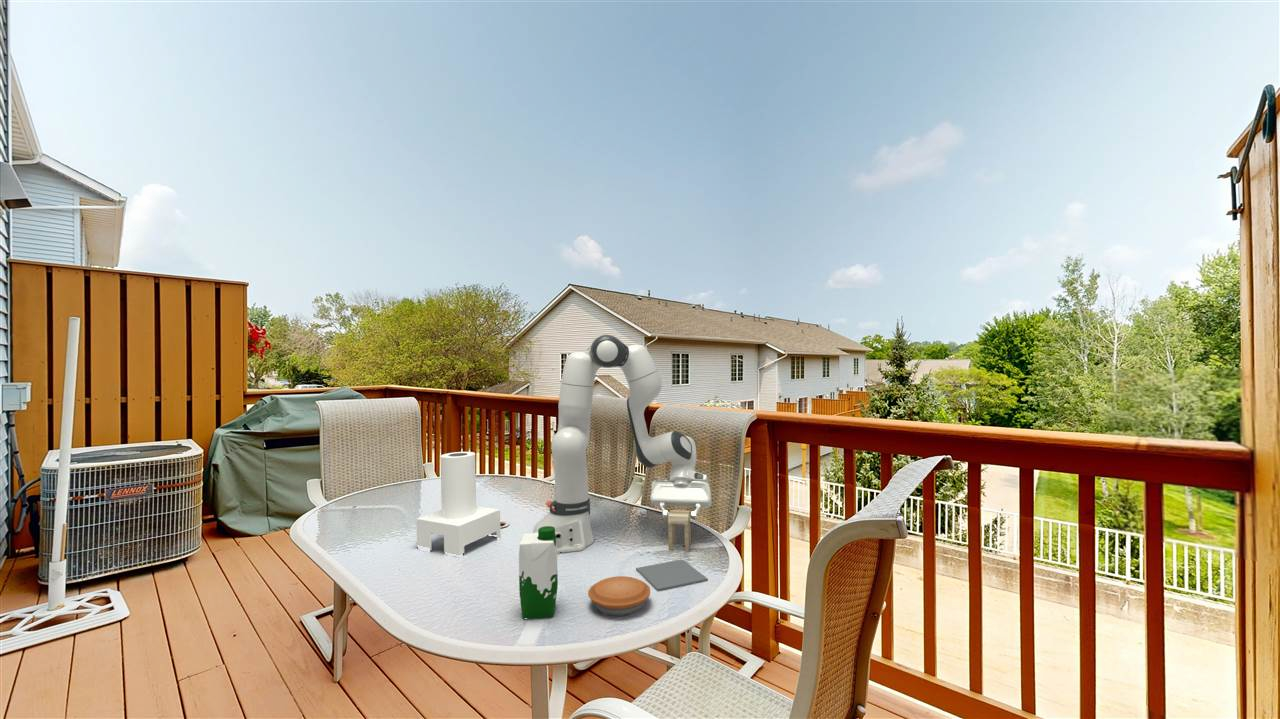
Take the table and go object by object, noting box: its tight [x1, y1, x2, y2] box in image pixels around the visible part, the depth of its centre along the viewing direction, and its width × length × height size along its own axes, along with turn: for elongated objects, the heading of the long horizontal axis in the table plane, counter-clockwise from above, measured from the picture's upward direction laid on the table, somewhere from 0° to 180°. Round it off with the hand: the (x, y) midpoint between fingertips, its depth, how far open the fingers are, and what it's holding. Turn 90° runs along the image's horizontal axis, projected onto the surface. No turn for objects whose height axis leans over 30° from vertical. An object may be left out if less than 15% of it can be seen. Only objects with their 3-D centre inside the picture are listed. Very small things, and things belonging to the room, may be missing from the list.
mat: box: [635, 559, 709, 592], centre depth 144 cm, size 15×15×1 cm
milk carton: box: [518, 526, 559, 619], centre depth 124 cm, size 9×9×20 cm
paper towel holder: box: [416, 451, 502, 555], centre depth 172 cm, size 19×19×30 cm
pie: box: [587, 575, 651, 617], centre depth 127 cm, size 16×16×5 cm
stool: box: [667, 509, 692, 552], centre depth 165 cm, size 6×6×11 cm
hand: (679, 517), depth 165 cm, fingers open, 8 cm apart
